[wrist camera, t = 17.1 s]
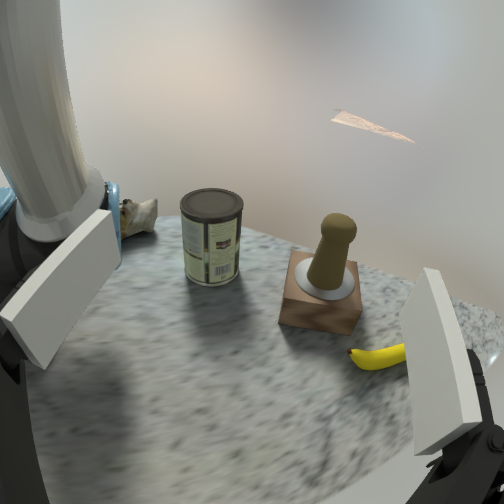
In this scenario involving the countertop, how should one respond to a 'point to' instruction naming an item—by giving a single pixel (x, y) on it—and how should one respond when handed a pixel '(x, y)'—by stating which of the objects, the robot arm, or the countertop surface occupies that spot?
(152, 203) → the ceramic sculpture
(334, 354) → the countertop surface
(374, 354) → the banana
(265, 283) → the countertop surface
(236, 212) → the coffee can
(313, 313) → the walnut plinth
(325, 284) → the cork
